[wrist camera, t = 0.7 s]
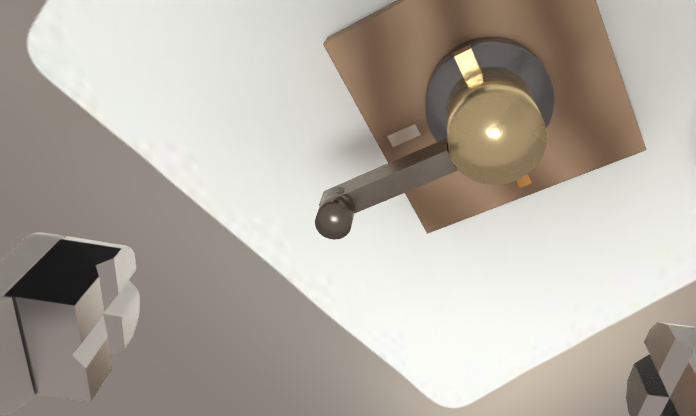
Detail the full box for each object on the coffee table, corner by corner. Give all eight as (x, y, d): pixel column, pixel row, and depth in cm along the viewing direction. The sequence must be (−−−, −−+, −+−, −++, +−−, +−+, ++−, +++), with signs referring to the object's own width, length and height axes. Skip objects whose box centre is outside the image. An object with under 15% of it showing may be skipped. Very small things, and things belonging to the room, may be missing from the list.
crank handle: (504, 27, 39) (519, 60, 32) (553, 147, 43) (577, 201, 36) (303, 124, 44) (279, 171, 37) (363, 224, 48) (351, 283, 41)
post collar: (523, 13, 40) (527, 19, 39) (566, 124, 44) (572, 134, 42) (405, 71, 43) (404, 79, 42) (454, 170, 47) (455, 181, 45)
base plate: (560, -88, 39) (566, -85, 37) (638, 139, 46) (647, 151, 44) (327, 37, 45) (322, 45, 43) (427, 221, 52) (427, 234, 50)
